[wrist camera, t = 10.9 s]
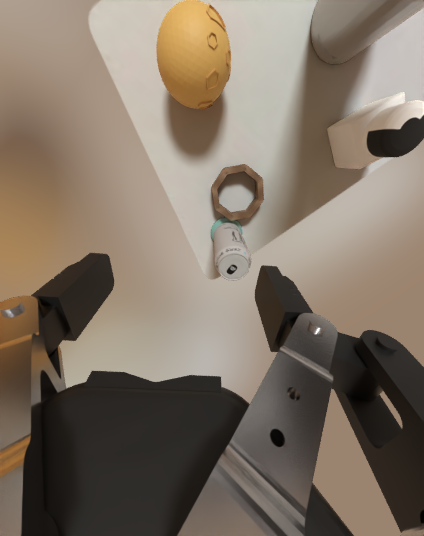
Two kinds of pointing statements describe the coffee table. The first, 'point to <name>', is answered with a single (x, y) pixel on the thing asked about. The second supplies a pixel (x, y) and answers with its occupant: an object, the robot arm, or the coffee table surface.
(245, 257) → the energy drink can
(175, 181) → the coffee table surface
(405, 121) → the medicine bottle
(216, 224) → the coaster
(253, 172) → the collar
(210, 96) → the stress ball
